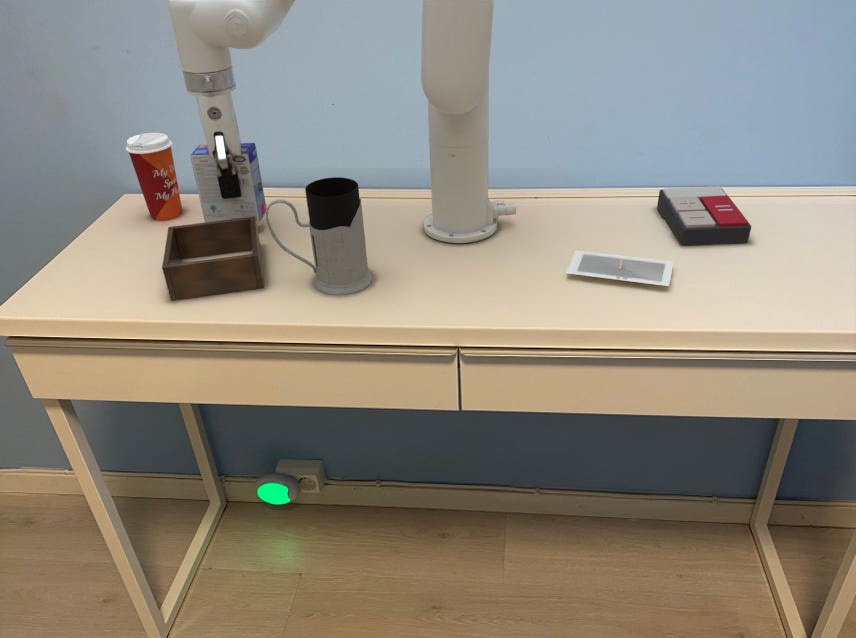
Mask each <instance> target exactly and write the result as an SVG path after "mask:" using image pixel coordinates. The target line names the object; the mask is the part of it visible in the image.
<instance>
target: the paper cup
mask: <svg viewBox="0 0 856 638" xmlns="http://www.w3.org/2000/svg"><path fill="white" fill-rule="evenodd" d="M172 145H173V142H172V140H170V138H169V136H168V135H167V134H165V133H163V132H146V133H140V134H136V135H134V136H130V137H129V138H127V140H126V146H125V151H126V152H128V154H129V157H130V161H131V163H132V166H133V169H134V173H135V174H136V178H137V181H138V184H139V186H140V187H139V188H140V190H141V193H142V195H143V198H144V201H145V204H146V208H147V210H148V213H149V215H150V217H151V219H153V220H155V221H167V220H172V219H176V218H179V217H180V216H181V215H182V214H183V207H182V200H181V195H180V190H179V184H178V179H177V172H176V167H175V162H174V157H173V151H172Z"/></svg>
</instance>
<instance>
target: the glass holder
mask: <svg viewBox="0 0 856 638" xmlns="http://www.w3.org/2000/svg"><path fill="white" fill-rule="evenodd" d="M304 191H305V198H306V204H307V205H306V206H307V212H308V218H309V219H308V223H302V222H300V219H299V216H298V212H297V209H296V207H295V205H294V204H292V203H291V201H288V200H286V199H283V198H282V199H275V200H273V201H271V202H270V203H269V204H268V205H266V207H267V209H266V213H265V222H266V225H267V230H268V231H269V233H270V235H271V237H272V238H273V240H274V241H275V242H276V245H278V246H279V248H281V249H282V250H283V251H284V252H286V253H287V254H289V255H291V256H292V257H294V258H295V259H297V260H299V261H301V262H302V263H304V264H306V265H307V266H309V267H310V268H312V271H313V274H314V275H315V274H316V275H315V278H314V286H315V288H316V289H317V290H318V291H320V292H321V293H323V294H328V295H334V296H335V295H336V296H338V295H339V296H341V295H350V294H351V295H352V294H355V293H358V292H360V291H362V290H364V289H366V288H367V287H368V286H370V285H371V283H372V281H373V276H372V274H371V272H370V271H369V264H368V255H367V243H366V236H365V226H364V224H365V223H364V215H363V206H362V199H361V198H360V190H359V183H358V182H357V181H356V180H354V179H352V178H347V177H341V176H340V177H339V176H338V177H336V176H335V177H334V176H333V177H326V178H320V179H317V180H313V181H312V182H310V183H308V184H307V185H306V186H305V187H304ZM276 204H284V205H287V206H288V207H289V208H290V209H291V210H292V212H293V214H294V220H295V222H296V224H297V226H299V227H301V228H309V234H310V241H311V242H310V243H311V247H312V255H313V262H314V264H313V263H312V262H311V261H309V260H308V259H306V258H304V257H302V256H301V255H299V254H297V253H296V252H293V250H291V249H290V248H288V247H286V246H285V244H283V243H282V242H281V241H280V240H279V238H278V237H277V236H276V234H275V232H274V230H273V227H272V225H271V223H270V219H269V211H270V208H271V207H272V206H274V205H276Z"/></svg>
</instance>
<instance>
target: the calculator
mask: <svg viewBox="0 0 856 638" xmlns="http://www.w3.org/2000/svg"><path fill="white" fill-rule="evenodd" d="M656 209H657V211H658V213H659V214H660V216H661V218H664V219H665V221H666V223H667V224H668V226H669V228H670V229H671V231H672V232H673V234H674V236H675V238H676V239H677V241H678V243H679V244H680V246H684V247H685V246H707V245H727V244H728V245H729V244H730V245H732V244H747V243H748V242H749V239H750V234H751V230H752V225H751V223H750V222H749V220H748V219H747V218H746V217H745V216H744V214H743V213H742V211H741V210H740V209H739V208H738V206H737V205H736V204H735V203H734V201H733V200H732V199H731V198H730V196H729V195H728V194H727V193H726V191H725V190H724V189H723V188H722V187H721V186H717V185H716V186H693V187H671V188H670V187H669V188H663V189H660V190H659V193H658V199H657V204H656Z"/></svg>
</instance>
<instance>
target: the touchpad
mask: <svg viewBox="0 0 856 638" xmlns="http://www.w3.org/2000/svg"><path fill="white" fill-rule="evenodd" d="M674 263H675V262H674V261H670V260H663V259H661V260H660V259H653V258H644V257H636V256H628V255H619V254H610V253H603V252H593V251H583V250H577V249H576V250H575V251H574V253H573V255H572V258H571V260H570V263H569V265H568V267H567V270H566V272H565V274H570V275H577V276H585V277H593V278H601V279H608V280H617V281H624V282H631V283H633V282H634V283H638V284H639V283H641V284H647V285H655V286H663V287H670V283H671V278H672V273H673V267H674Z"/></svg>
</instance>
